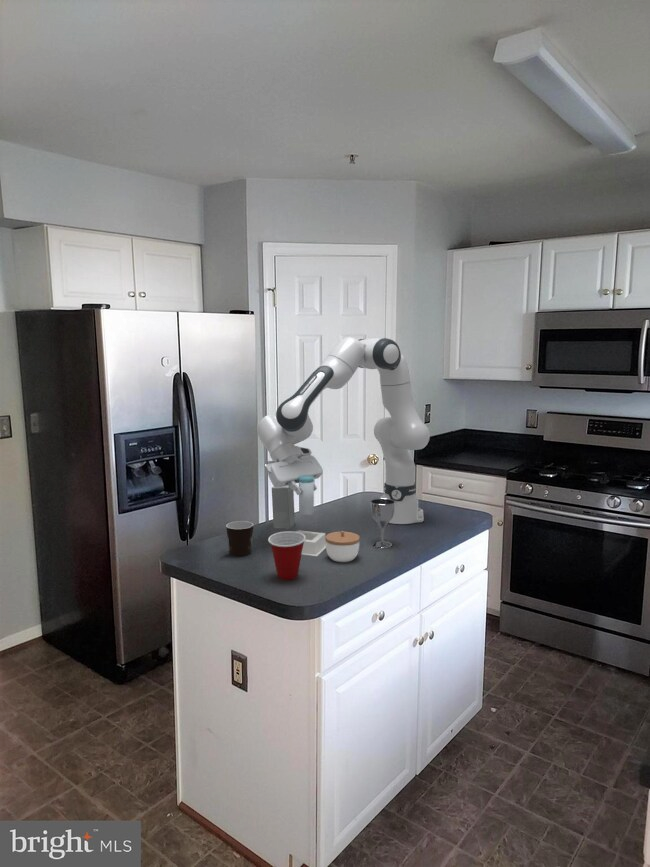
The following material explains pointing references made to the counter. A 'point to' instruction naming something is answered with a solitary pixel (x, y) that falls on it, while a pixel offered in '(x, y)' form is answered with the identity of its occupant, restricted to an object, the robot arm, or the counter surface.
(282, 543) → the plastic cup
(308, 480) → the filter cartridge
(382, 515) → the wine glass
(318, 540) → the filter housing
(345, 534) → the lidded jar
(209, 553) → the counter surface
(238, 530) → the coffee mug
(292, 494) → the skincare box
